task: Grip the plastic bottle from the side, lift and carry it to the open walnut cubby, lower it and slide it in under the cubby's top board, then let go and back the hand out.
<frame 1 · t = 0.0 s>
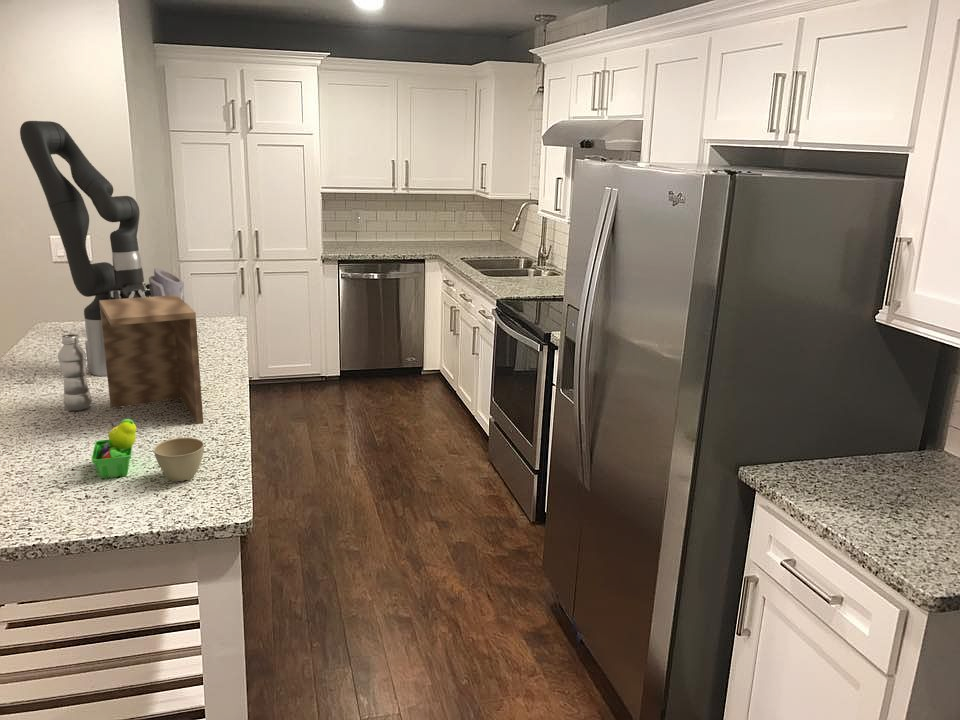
hand: (136, 322, 222), 17 cm above the counter, tool pointing down, fingers open, 8 cm apart
walnut cubby: (155, 414, 199), on the counter
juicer: (156, 336, 275), on the counter
fruit basket: (118, 470, 167), on the counter
flower pot: (181, 477, 164), on the counter
plastic bottle: (78, 409, 201), on the counter
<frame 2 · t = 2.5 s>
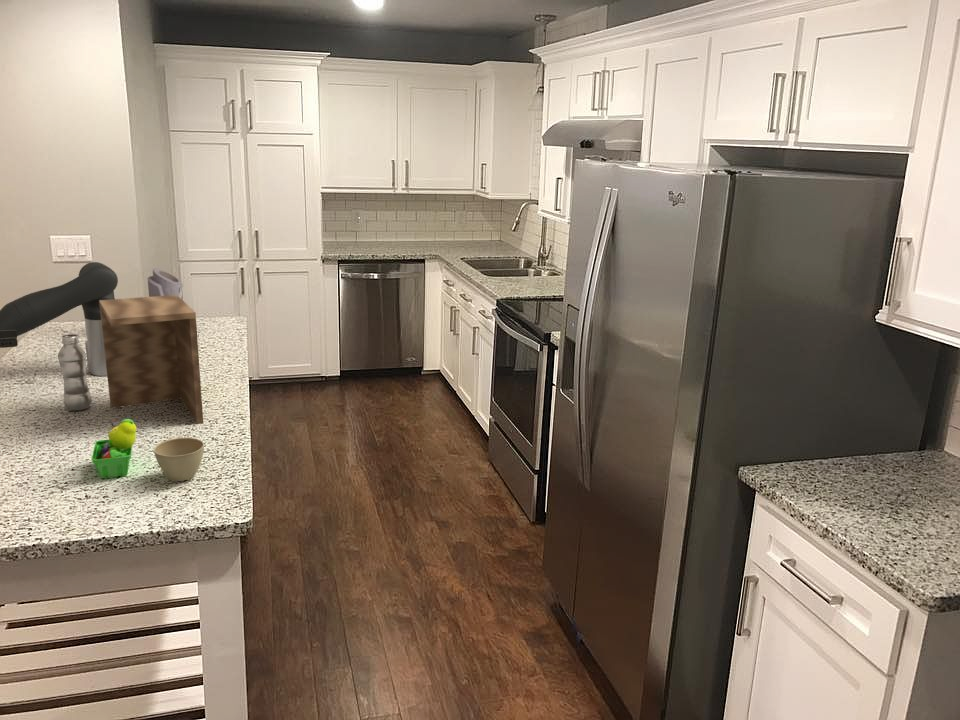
hand: (17, 337, 189), 21 cm above the counter, tool horizontal, fingers open, 8 cm apart
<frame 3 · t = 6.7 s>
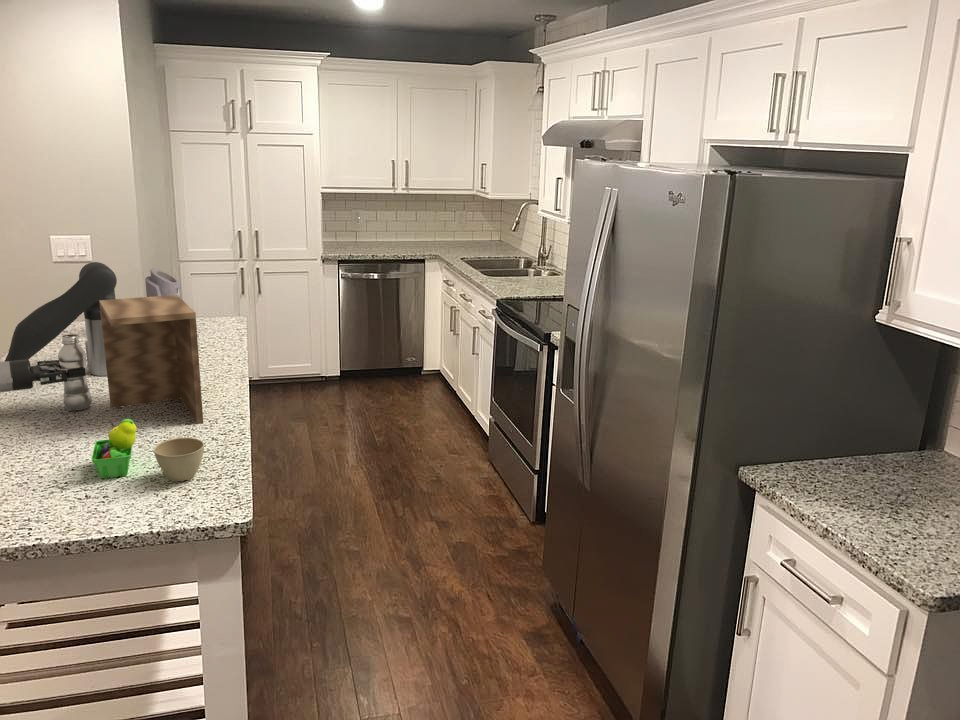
hand: (84, 368, 199), 11 cm above the counter, tool horizontal, fingers closed on plastic bottle, 6 cm apart
plastic bottle: (78, 409, 201), on the counter, touching gripper
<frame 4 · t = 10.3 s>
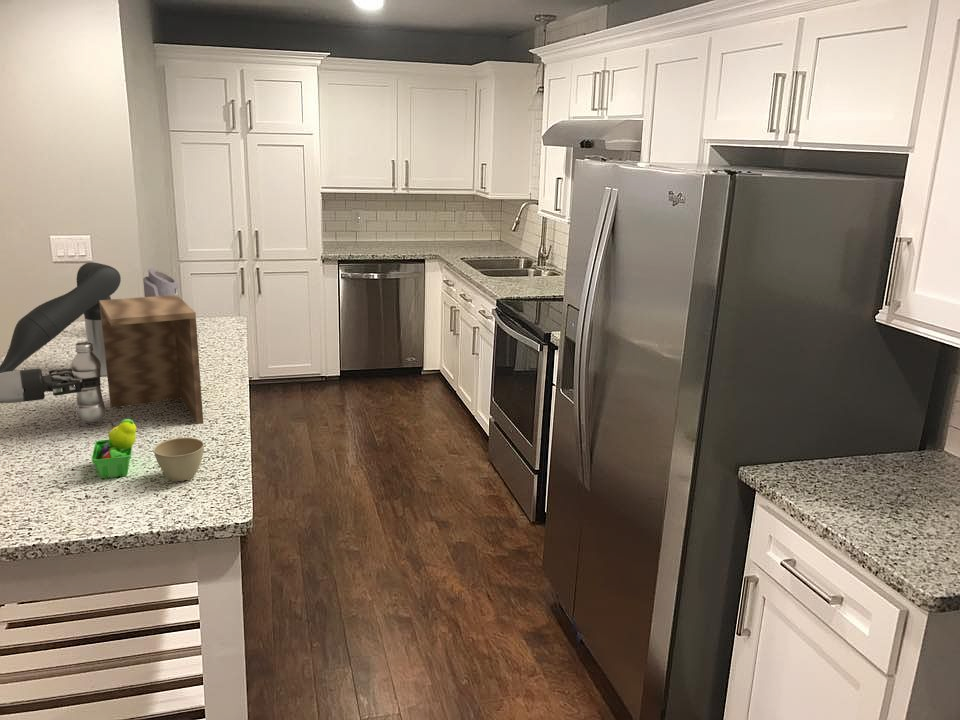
hand: (98, 377, 188), 12 cm above the counter, tool horizontal, fingers closed on plastic bottle, 6 cm apart
plastic bottle: (92, 421, 190), point 1 cm above the counter, touching gripper
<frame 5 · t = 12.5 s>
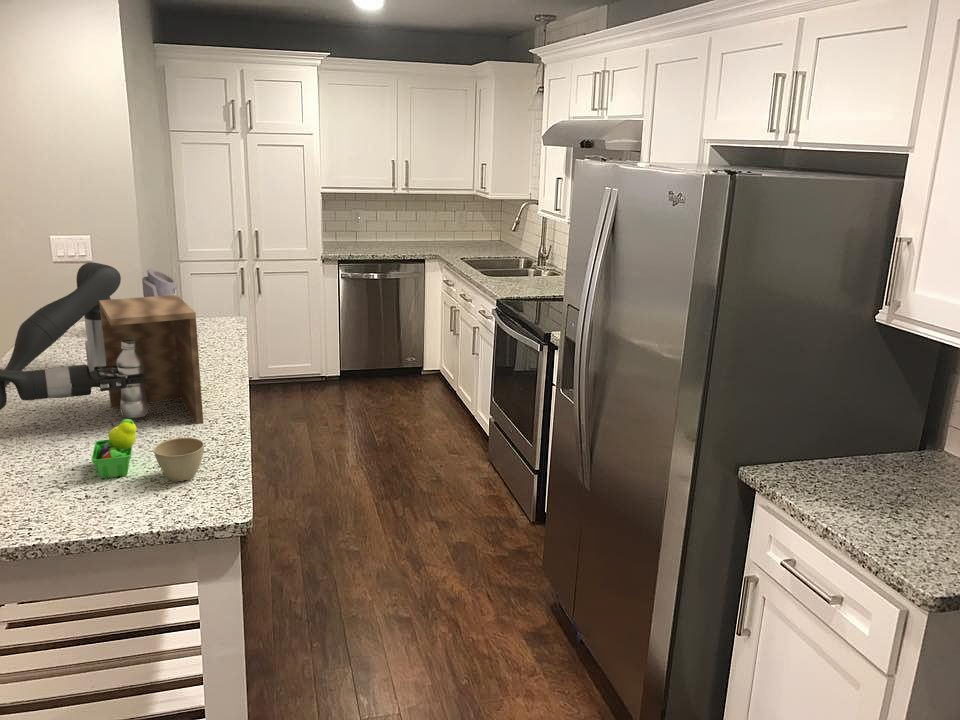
hand: (142, 374, 193), 12 cm above the counter, tool horizontal, fingers closed on plastic bottle, 6 cm apart
plastic bottle: (135, 417, 195), point 1 cm above the counter, touching gripper
when the fingers open (12 cm above the counter, at t = 14.2 s): plastic bottle drops 1 cm, on the counter.
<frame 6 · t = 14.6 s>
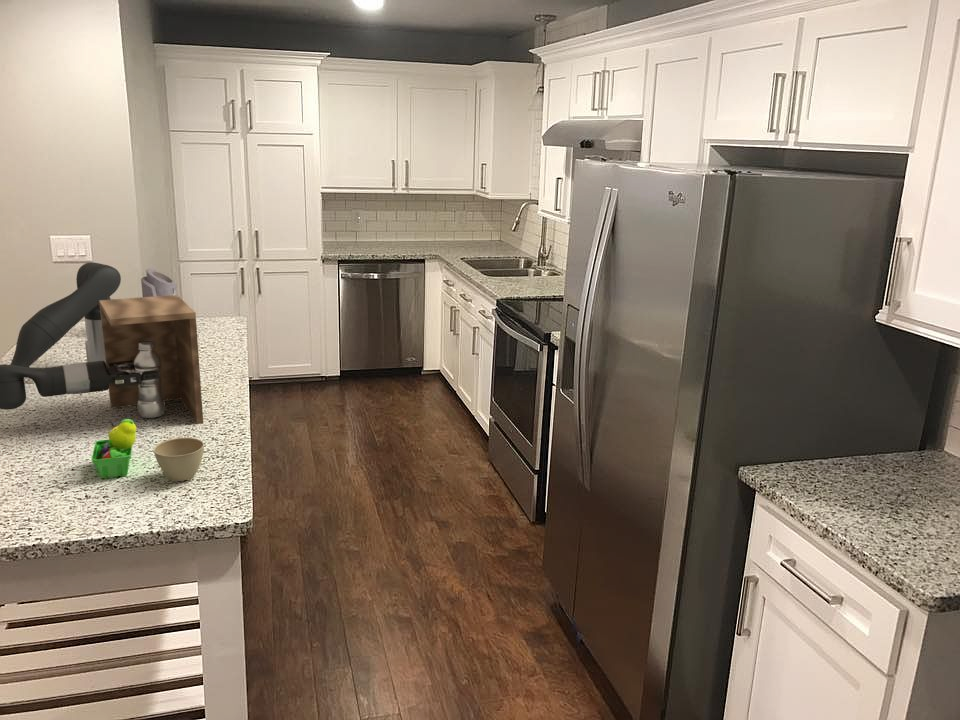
hand: (156, 369, 195), 12 cm above the counter, tool horizontal, fingers open, 8 cm apart
plastic bottle: (152, 417, 197), on the counter
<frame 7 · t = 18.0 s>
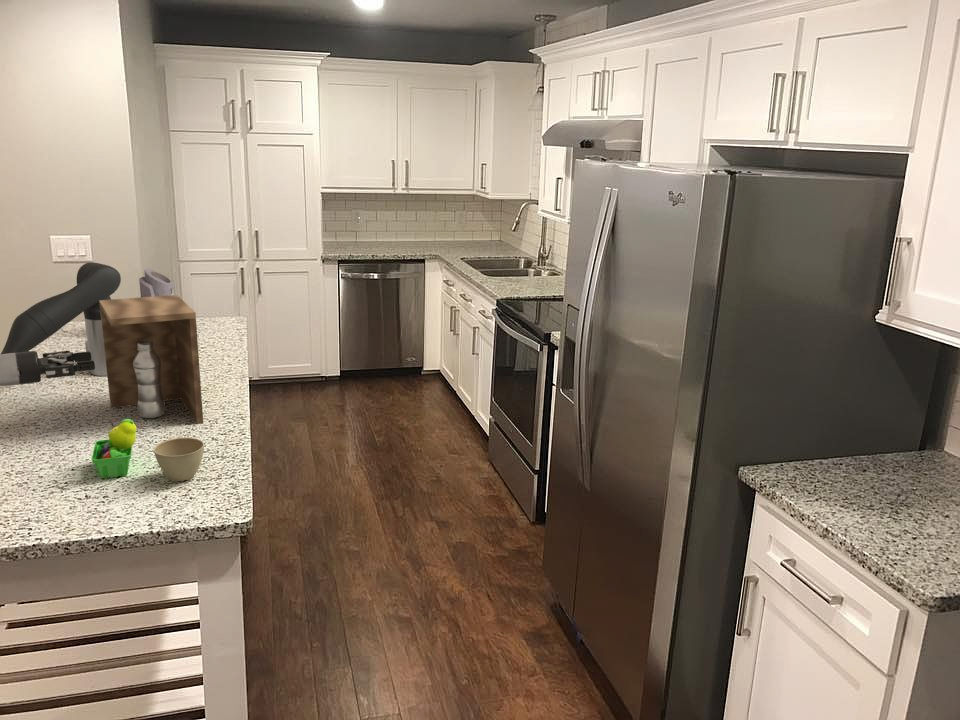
hand: (92, 360, 186), 17 cm above the counter, tool horizontal, fingers open, 8 cm apart
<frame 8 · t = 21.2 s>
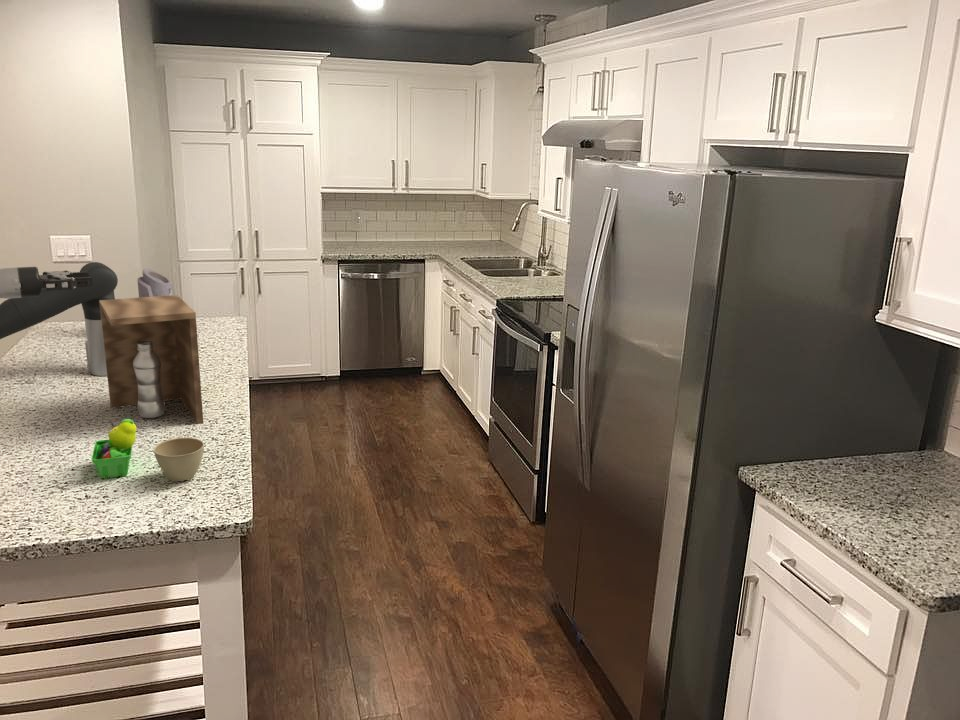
hand: (90, 278, 197), 34 cm above the counter, tool horizontal, fingers open, 8 cm apart
at the end: plastic bottle 1.6 cm from the walnut cubby (horizontally); plastic bottle tilted 0°; the gripper is holding nothing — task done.
